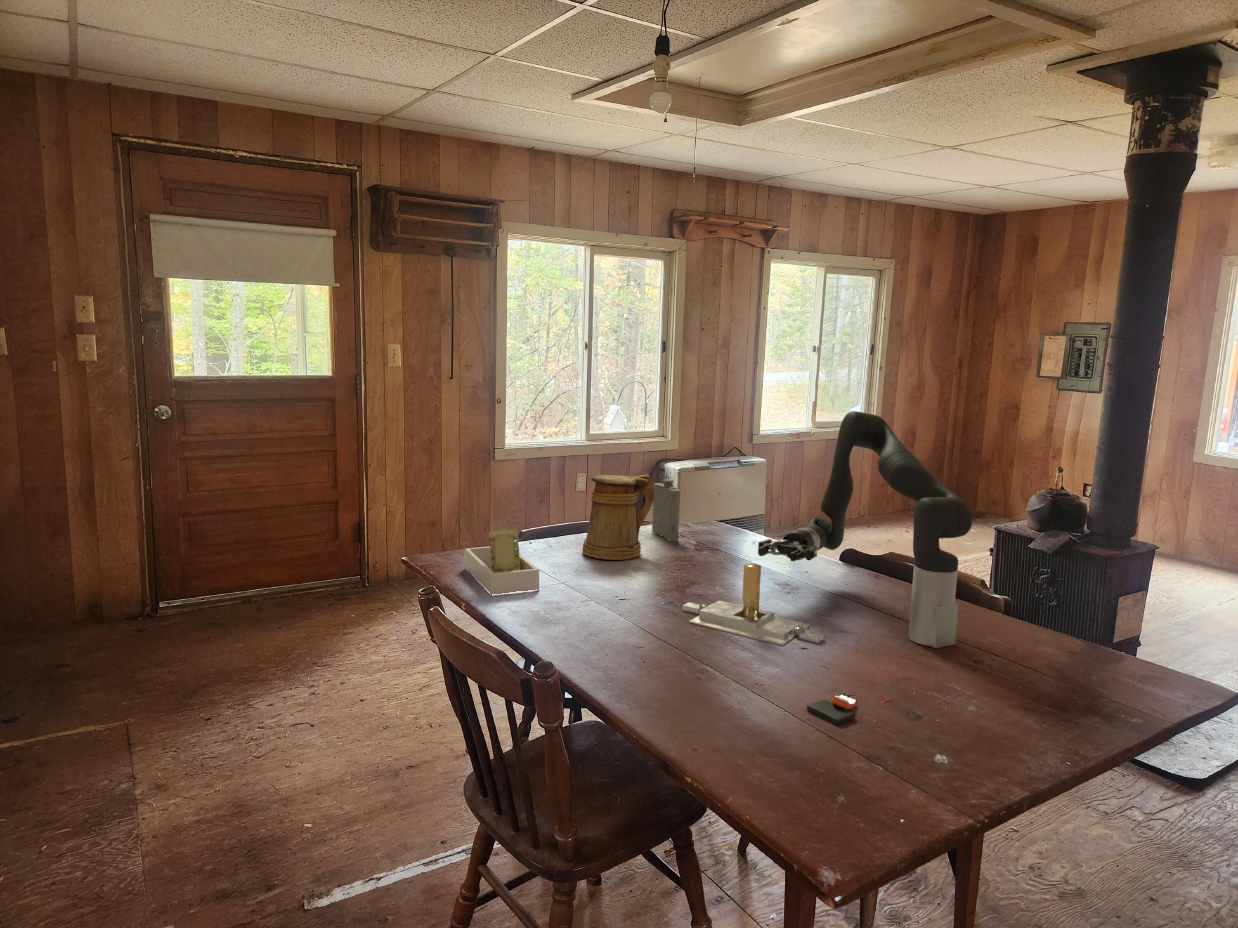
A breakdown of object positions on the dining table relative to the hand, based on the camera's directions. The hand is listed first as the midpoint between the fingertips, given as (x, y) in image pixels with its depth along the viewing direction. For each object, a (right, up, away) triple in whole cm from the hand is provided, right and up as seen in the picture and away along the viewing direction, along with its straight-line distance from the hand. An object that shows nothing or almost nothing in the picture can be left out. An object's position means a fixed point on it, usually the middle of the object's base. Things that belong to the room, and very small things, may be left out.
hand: (775, 554), depth 200 cm
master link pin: (-8, -15, -8) cm, 19 cm away
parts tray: (-72, -10, +24) cm, 77 cm away
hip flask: (-23, -3, +79) cm, 82 cm away
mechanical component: (-70, -10, +23) cm, 74 cm away
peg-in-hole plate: (-8, -16, -8) cm, 19 cm away
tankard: (-39, -6, +55) cm, 68 cm away
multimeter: (+4, -23, -49) cm, 54 cm away
